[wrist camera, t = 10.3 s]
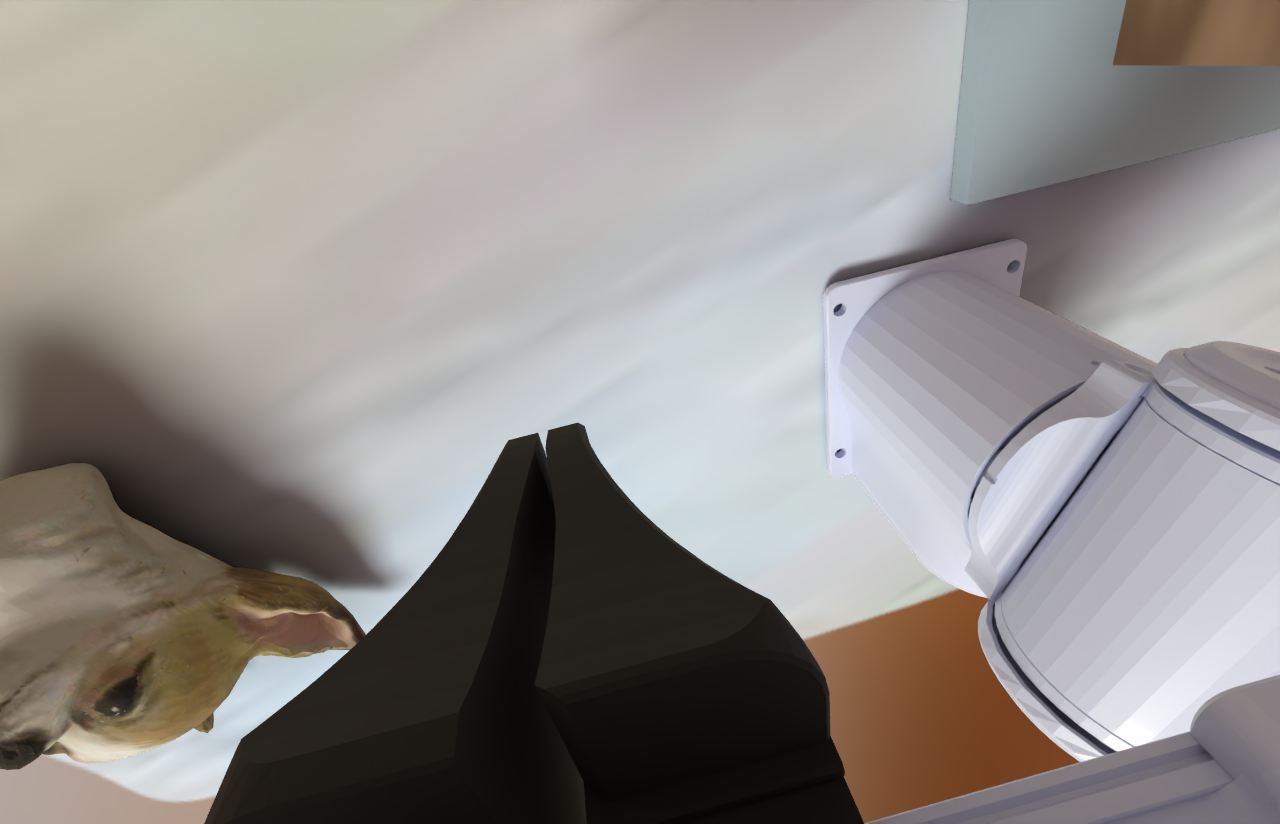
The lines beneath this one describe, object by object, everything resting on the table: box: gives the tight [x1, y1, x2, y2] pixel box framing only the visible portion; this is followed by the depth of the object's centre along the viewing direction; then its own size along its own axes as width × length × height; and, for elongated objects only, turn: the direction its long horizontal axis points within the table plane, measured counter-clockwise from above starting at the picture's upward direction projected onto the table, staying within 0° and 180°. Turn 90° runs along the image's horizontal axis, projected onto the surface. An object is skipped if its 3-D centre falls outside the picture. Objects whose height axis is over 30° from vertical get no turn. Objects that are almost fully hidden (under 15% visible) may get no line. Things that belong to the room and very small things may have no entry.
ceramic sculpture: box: [0, 463, 366, 770], centre depth 21 cm, size 11×9×15 cm
